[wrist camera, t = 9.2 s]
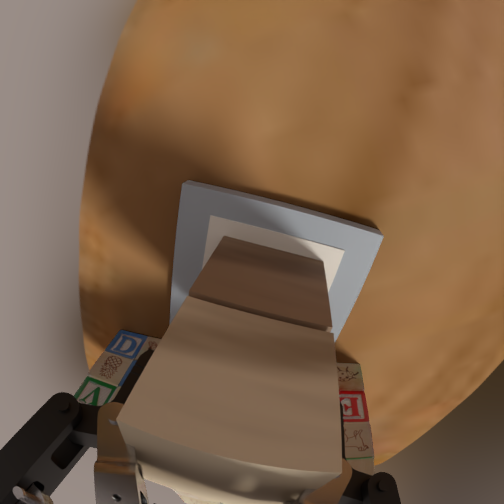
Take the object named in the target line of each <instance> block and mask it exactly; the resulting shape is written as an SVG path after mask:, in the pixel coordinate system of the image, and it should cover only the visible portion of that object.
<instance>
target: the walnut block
mask: <svg viewBox="0 0 504 504" xmlns="http://www.w3.org/2000/svg"><path fill="white" fill-rule="evenodd" d="M189 296H190V297H193V298H197V299H200V300H203V301H207V302H210V303H214V304H217V305H221V306H225V307H228V308H232V309H236V310H239V311H243V312H247V313H251V314H254V315H258V316H262V317H266V318H270V319H274V320H278V321H282V322H286V323H291V324H295V325H299V326H303V327H308V328H312V329H317V330H321V331H326V332H331V330H332V328H333V326H332V318H331V310H330V303H329V295H328V288H327V281H326V275H325V268H324V262H323V261H320V260H316V259H312V258H309V257H305V256H301V255H297V254H293V253H290V252H286V251H282V250H278V249H274V248H270V247H267V246H263V245H259V244H255V243H251V242H247V241H243V240H240V239H236V238H232V237H228V236H223V238H222V239H221V241H220V242H219V244H218V246H217V247H216V249H215V250H214V252H213V253H212V255H211V257H210V258H209V260H208V261H207V263H206V264H205V266H204V268H203V269H202V271H201V272H200V274H199V276H198V277H197V279H196V280H195V282H194V284H193V285H192V287H191V288H190V290H189Z"/></svg>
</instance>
